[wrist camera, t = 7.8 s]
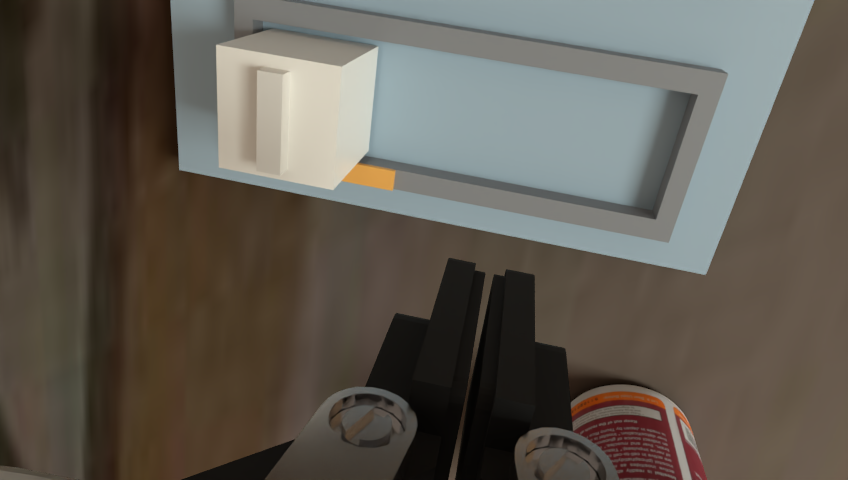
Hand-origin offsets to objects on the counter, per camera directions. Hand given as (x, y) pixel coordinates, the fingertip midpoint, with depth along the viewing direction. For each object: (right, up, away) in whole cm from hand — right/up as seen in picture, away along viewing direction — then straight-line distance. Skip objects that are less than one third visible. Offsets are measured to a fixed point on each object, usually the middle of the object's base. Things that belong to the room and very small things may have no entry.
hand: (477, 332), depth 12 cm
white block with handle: (-5, +7, +11) cm, 14 cm away
